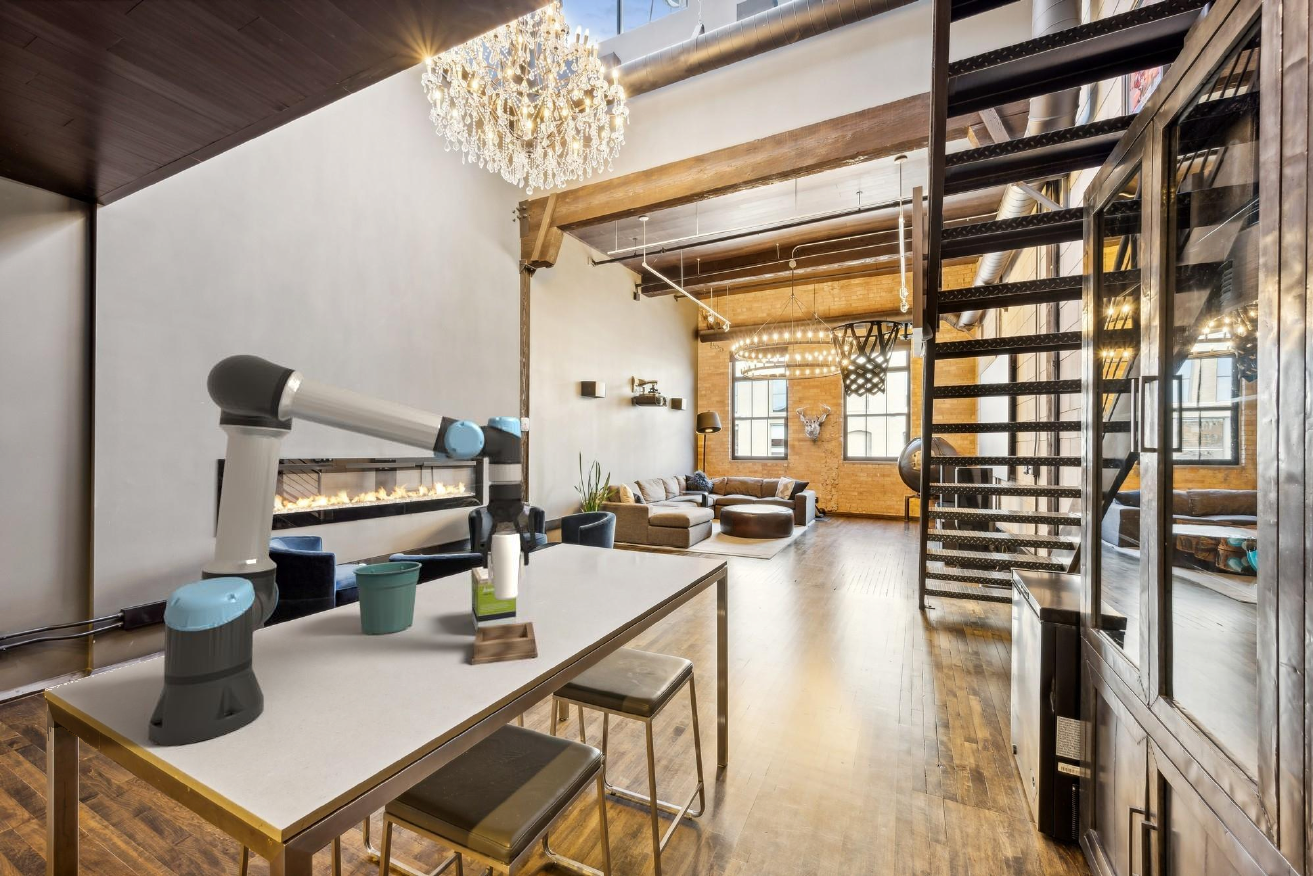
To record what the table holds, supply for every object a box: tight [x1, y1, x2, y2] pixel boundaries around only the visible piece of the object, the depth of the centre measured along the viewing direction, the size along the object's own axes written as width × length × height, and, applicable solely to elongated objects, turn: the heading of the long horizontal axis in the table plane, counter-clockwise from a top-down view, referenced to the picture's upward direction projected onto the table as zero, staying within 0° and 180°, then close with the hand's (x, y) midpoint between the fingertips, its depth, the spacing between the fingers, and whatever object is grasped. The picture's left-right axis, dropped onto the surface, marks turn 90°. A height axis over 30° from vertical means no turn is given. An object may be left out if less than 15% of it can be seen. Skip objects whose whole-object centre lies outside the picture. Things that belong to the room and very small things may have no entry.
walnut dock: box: [471, 621, 539, 666], centre depth 124 cm, size 14×14×4 cm
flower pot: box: [352, 561, 423, 635], centre depth 142 cm, size 16×16×16 cm
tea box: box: [471, 566, 517, 631], centre depth 143 cm, size 15×10×15 cm, turn 25°
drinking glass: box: [490, 531, 522, 600], centre depth 125 cm, size 7×7×15 cm
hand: (506, 580), depth 125 cm, fingers closed on drinking glass, 7 cm apart
